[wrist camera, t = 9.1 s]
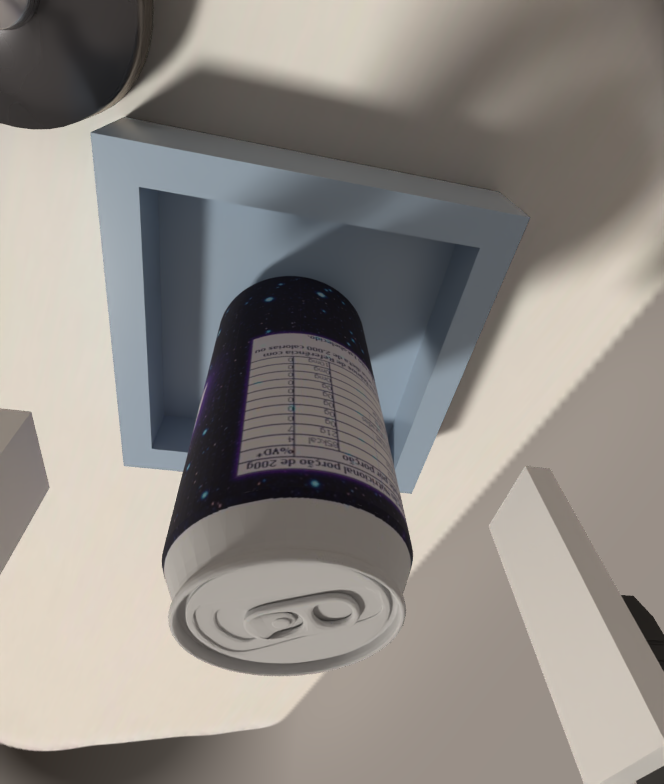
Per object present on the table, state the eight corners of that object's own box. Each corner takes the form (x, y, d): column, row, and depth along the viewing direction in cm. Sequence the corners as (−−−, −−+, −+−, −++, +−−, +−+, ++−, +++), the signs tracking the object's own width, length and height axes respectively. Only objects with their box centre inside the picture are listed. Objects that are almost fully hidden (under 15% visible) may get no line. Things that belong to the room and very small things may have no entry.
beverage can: (197, 287, 18) (88, 583, 8) (343, 248, 17) (402, 518, 8) (250, 399, 21) (215, 698, 12) (373, 369, 21) (439, 660, 11)
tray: (124, 116, 15) (90, 132, 13) (499, 192, 17) (530, 217, 15) (142, 420, 23) (123, 465, 21) (401, 449, 25) (411, 493, 22)
